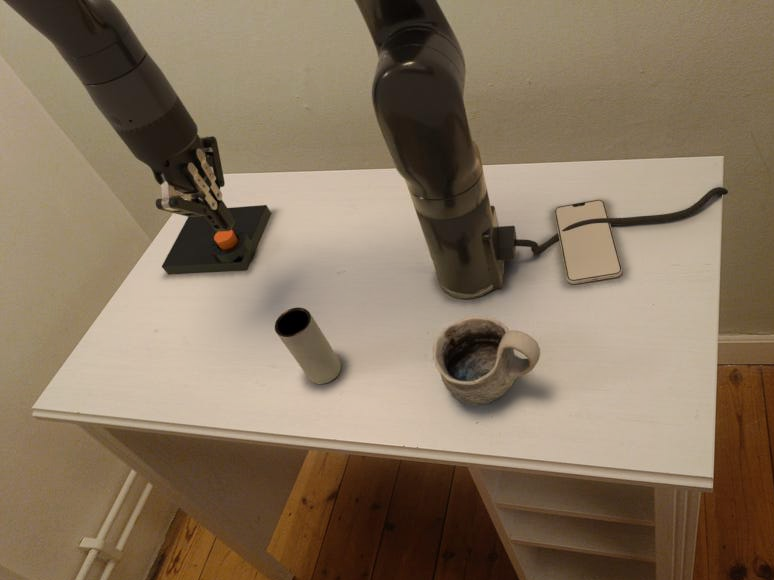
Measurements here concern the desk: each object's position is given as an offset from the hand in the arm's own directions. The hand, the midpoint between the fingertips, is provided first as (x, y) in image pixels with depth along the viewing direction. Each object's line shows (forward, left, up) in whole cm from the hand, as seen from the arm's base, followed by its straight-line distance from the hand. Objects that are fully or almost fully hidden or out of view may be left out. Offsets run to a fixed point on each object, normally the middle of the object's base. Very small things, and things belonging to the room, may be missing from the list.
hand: (226, 227), depth 79 cm
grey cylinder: (-11, +13, -14) cm, 22 cm away
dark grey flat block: (+14, -13, -14) cm, 23 cm away
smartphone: (-45, -8, -14) cm, 48 cm away
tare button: (+9, -9, -11) cm, 17 cm away
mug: (-34, +15, -14) cm, 40 cm away
